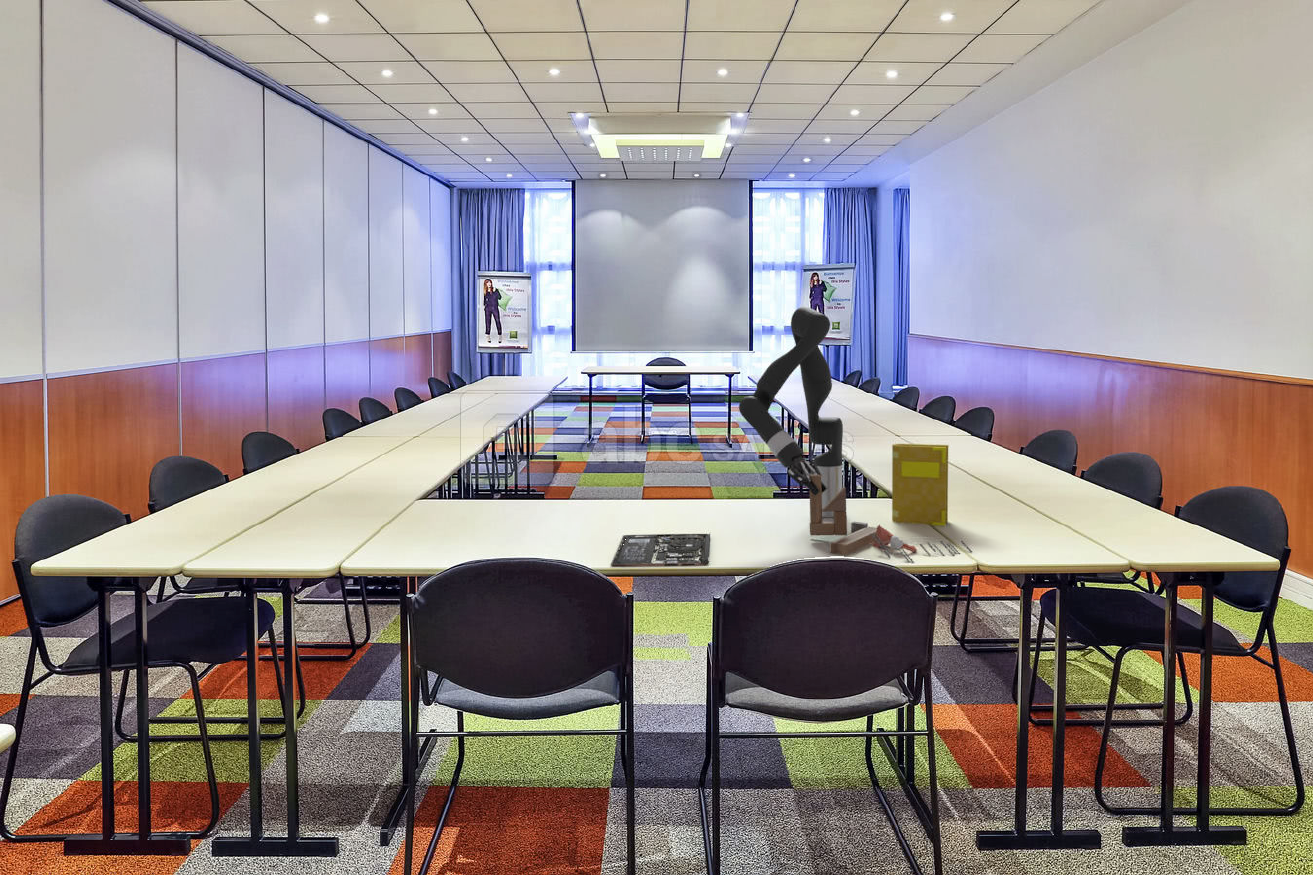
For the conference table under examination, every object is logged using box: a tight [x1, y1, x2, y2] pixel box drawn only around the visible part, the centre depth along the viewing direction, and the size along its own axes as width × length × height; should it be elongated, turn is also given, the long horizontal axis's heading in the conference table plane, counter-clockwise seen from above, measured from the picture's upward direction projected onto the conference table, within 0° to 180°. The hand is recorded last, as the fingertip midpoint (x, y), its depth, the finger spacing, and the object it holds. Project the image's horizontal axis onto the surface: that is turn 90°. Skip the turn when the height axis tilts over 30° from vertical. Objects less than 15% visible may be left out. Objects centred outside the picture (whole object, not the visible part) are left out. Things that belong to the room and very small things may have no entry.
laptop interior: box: [610, 533, 711, 567], centre depth 275 cm, size 35×28×2 cm
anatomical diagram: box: [870, 524, 974, 564], centre depth 265 cm, size 21×9×25 cm
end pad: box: [810, 535, 846, 544], centre depth 281 cm, size 12×8×1 cm, turn 52°
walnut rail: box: [829, 521, 877, 556], centre depth 275 cm, size 10×24×4 cm, turn 142°
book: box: [891, 443, 949, 527], centre depth 300 cm, size 17×7×25 cm, turn 65°
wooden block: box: [808, 474, 848, 536], centre depth 278 cm, size 4×11×18 cm, turn 83°
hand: (820, 491), depth 278 cm, fingers closed on wooden block, 3 cm apart
